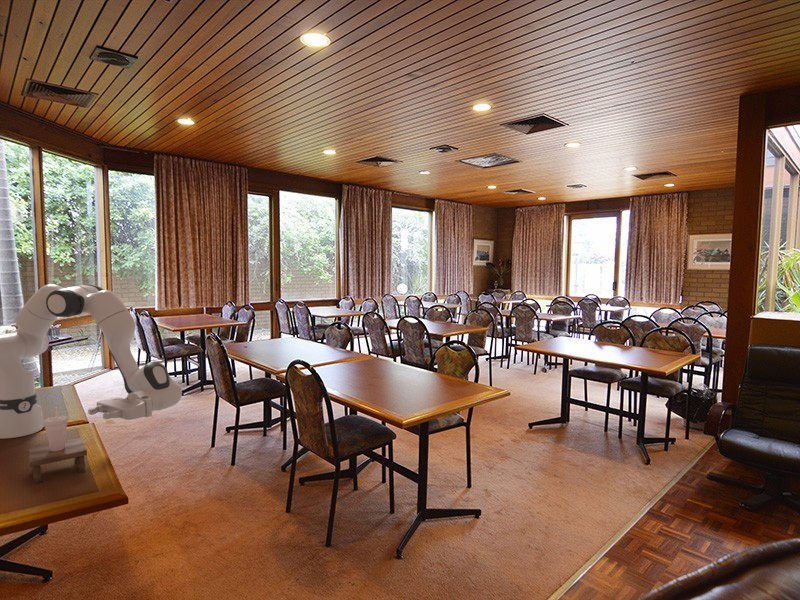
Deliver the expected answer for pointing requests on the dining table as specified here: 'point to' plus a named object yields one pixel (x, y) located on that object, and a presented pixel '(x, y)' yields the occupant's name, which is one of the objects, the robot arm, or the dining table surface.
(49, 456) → the stool
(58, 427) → the smoothie
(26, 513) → the dining table surface
